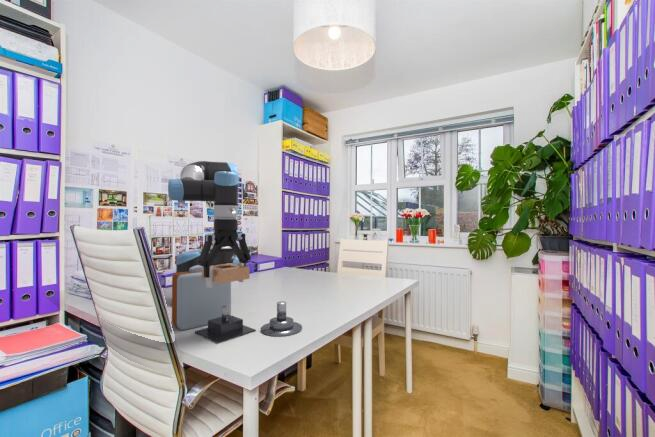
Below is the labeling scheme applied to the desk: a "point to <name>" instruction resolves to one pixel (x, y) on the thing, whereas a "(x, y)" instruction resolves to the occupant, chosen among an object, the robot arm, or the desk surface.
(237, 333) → the stand
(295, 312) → the desk surface
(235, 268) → the brown square ring block
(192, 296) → the grey rounded upright slab
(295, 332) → the hub
